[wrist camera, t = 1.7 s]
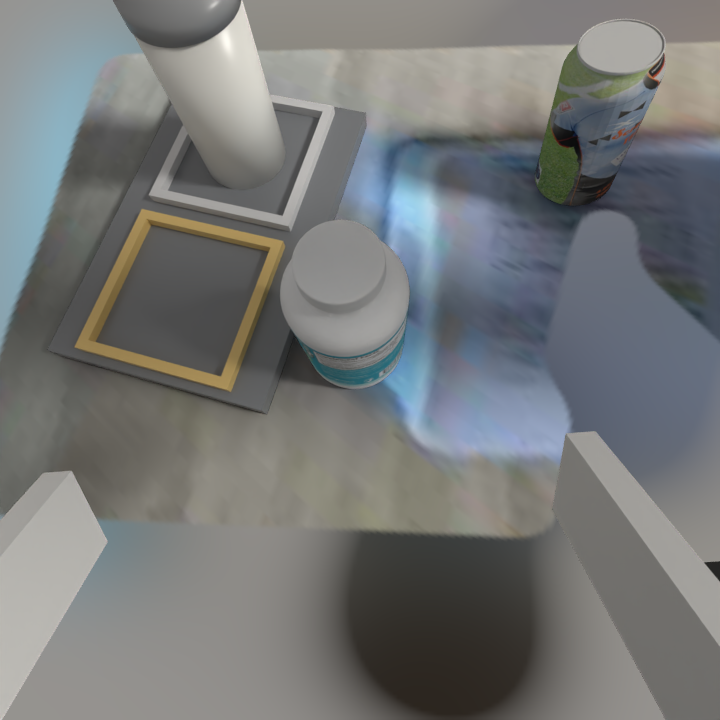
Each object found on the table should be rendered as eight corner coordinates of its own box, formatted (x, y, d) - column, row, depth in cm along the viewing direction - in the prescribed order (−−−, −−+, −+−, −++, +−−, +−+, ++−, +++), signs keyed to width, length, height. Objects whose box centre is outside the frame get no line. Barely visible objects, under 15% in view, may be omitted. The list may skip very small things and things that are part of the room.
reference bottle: (297, 131, 38) (251, -60, 25) (271, 198, 37) (205, 30, 23) (223, 117, 39) (140, -75, 26) (193, 181, 37) (87, 10, 24)
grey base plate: (366, 126, 40) (365, 105, 38) (267, 414, 33) (258, 408, 31) (190, 93, 42) (180, 71, 40) (60, 355, 35) (39, 346, 33)
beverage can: (590, 225, 36) (688, 101, 24) (506, 195, 37) (561, 64, 26) (613, 168, 37) (715, 25, 26) (531, 141, 39) (594, -6, 27)
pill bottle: (314, 300, 35) (275, 190, 22) (405, 305, 35) (418, 196, 22) (303, 388, 33) (252, 324, 20) (399, 396, 33) (410, 334, 20)
